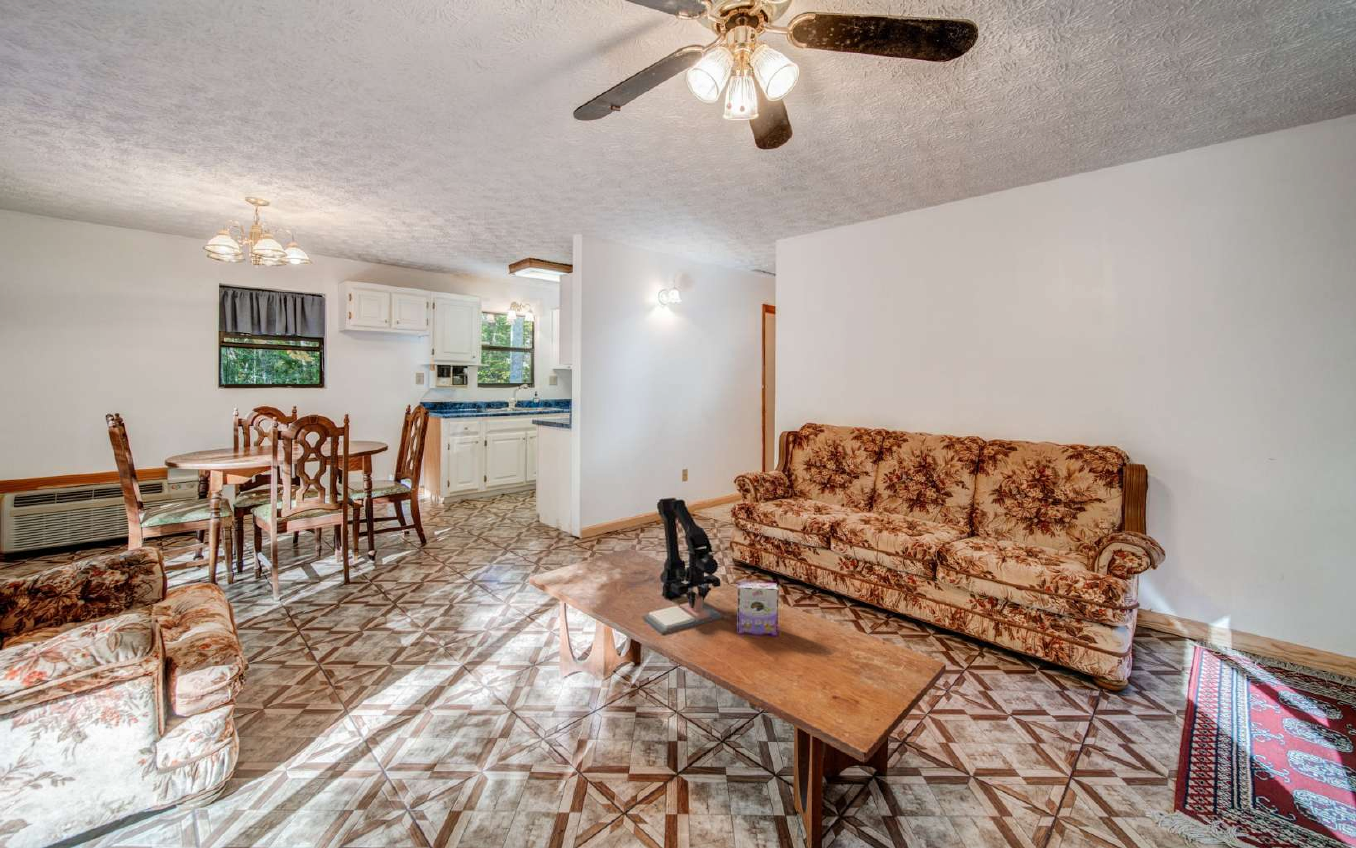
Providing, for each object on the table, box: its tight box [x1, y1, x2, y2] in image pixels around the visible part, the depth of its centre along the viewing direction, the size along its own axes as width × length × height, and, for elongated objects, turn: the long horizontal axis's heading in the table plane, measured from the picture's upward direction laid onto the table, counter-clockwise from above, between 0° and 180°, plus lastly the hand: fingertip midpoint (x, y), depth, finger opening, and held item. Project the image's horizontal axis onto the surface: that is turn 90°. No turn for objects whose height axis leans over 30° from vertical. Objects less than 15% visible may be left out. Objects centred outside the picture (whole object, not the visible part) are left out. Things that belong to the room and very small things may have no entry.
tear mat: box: [641, 602, 724, 635], centre depth 190 cm, size 26×14×1 cm, turn 122°
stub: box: [679, 592, 711, 620], centre depth 193 cm, size 6×12×6 cm, turn 32°
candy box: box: [736, 581, 779, 636], centre depth 181 cm, size 14×6×16 cm, turn 84°
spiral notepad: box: [648, 605, 695, 629], centre depth 188 cm, size 13×12×1 cm
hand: (695, 607), depth 193 cm, fingers closed on stub, 3 cm apart
